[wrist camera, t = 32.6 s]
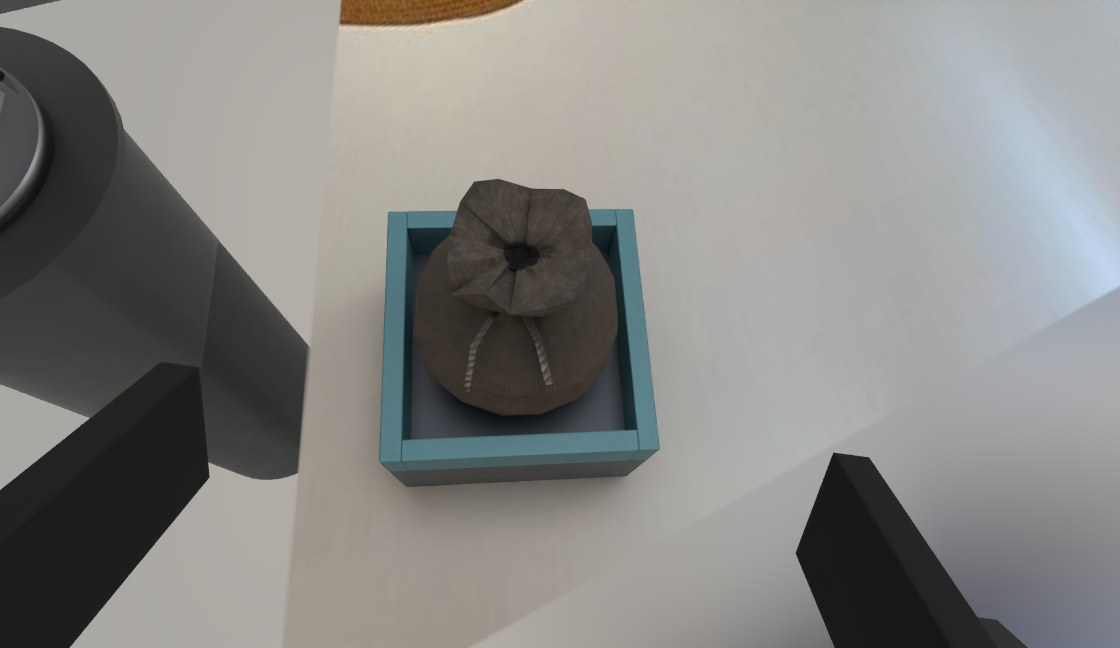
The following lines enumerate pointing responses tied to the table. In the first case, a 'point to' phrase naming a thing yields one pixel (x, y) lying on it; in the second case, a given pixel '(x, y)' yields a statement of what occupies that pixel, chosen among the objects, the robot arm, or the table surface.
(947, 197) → the table surface
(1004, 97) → the table surface
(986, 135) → the table surface
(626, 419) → the blue square open box
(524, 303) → the cloth sack
